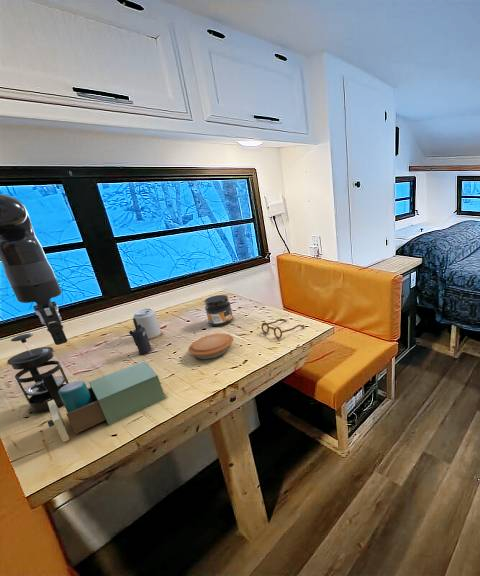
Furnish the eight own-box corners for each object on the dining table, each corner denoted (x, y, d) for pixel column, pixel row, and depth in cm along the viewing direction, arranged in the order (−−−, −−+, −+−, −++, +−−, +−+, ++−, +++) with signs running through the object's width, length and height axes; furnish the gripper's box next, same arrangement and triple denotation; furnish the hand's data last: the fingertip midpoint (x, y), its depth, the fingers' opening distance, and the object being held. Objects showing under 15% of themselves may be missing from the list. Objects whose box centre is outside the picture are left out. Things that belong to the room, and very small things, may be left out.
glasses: (261, 332, 132) (259, 322, 131) (285, 321, 143) (284, 311, 141) (281, 340, 126) (279, 329, 124) (305, 327, 136) (303, 317, 134)
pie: (234, 338, 128) (232, 327, 127) (235, 356, 115) (232, 344, 113) (192, 347, 122) (189, 336, 121) (188, 367, 109) (184, 355, 107)
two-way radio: (148, 354, 118) (136, 319, 113) (134, 356, 116) (122, 321, 111) (152, 347, 123) (141, 313, 118) (139, 349, 121) (127, 315, 116)
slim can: (74, 426, 81) (58, 395, 77) (70, 417, 84) (56, 387, 81) (99, 415, 85) (86, 384, 81) (95, 407, 88) (82, 377, 84)
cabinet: (108, 425, 84) (97, 400, 81) (98, 405, 91) (88, 381, 88) (165, 398, 94) (157, 375, 91) (152, 382, 101) (144, 360, 98)
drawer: (56, 445, 77) (45, 424, 74) (51, 424, 83) (40, 404, 81) (124, 413, 87) (116, 394, 84) (114, 397, 93) (107, 378, 91)
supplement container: (217, 329, 136) (211, 304, 132) (204, 324, 142) (198, 300, 138) (238, 320, 145) (233, 296, 141) (225, 315, 150) (220, 292, 146)
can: (163, 335, 132) (156, 310, 128) (142, 342, 127) (133, 316, 122) (159, 330, 137) (151, 305, 132) (139, 336, 132) (130, 311, 127)
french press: (25, 407, 91) (-11, 339, 83) (66, 388, 99) (36, 325, 91) (41, 419, 87) (5, 349, 79) (83, 398, 94) (54, 333, 86)
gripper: (8, 278, 75) (35, 336, 81) (11, 290, 67) (41, 353, 73) (51, 271, 81) (74, 325, 87) (59, 281, 73) (83, 340, 78)
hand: (59, 338), depth 80 cm, fingers open, 8 cm apart
